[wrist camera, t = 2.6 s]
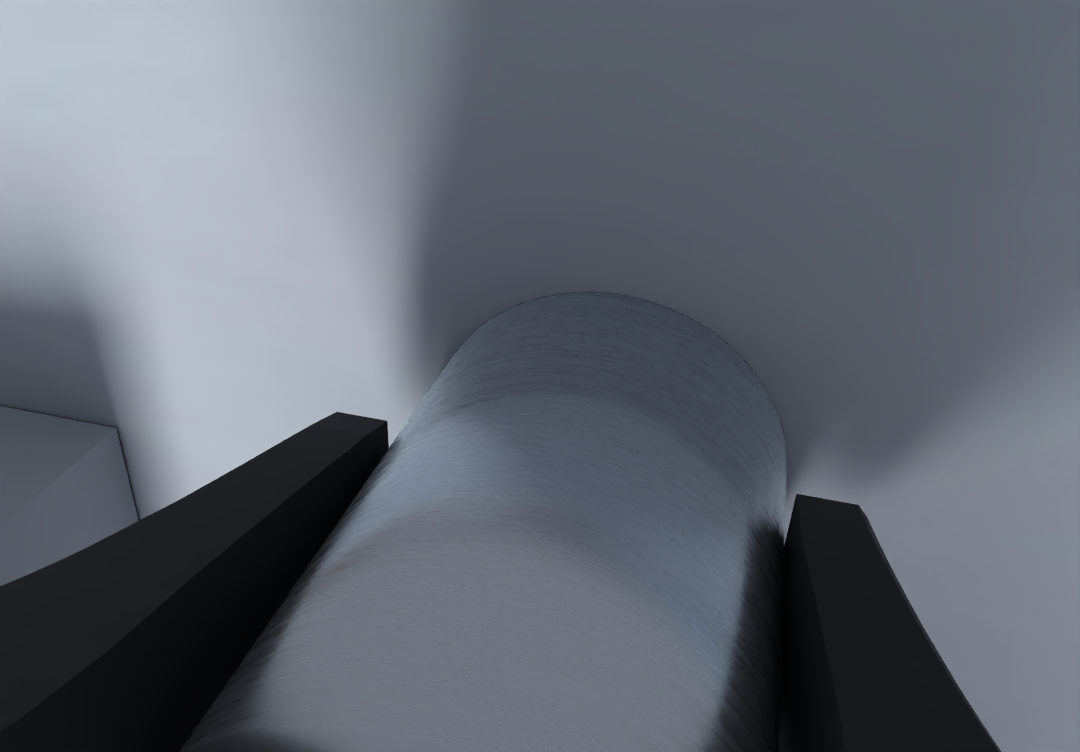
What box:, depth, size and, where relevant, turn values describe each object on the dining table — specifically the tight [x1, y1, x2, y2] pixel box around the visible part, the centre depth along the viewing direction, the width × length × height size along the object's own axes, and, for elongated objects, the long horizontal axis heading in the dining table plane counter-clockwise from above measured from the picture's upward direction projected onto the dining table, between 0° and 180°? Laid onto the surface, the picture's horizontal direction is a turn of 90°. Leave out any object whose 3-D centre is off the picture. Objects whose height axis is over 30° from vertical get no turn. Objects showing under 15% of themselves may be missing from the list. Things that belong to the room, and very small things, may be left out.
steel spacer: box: [179, 292, 787, 752], centre depth 9 cm, size 4×4×6 cm
